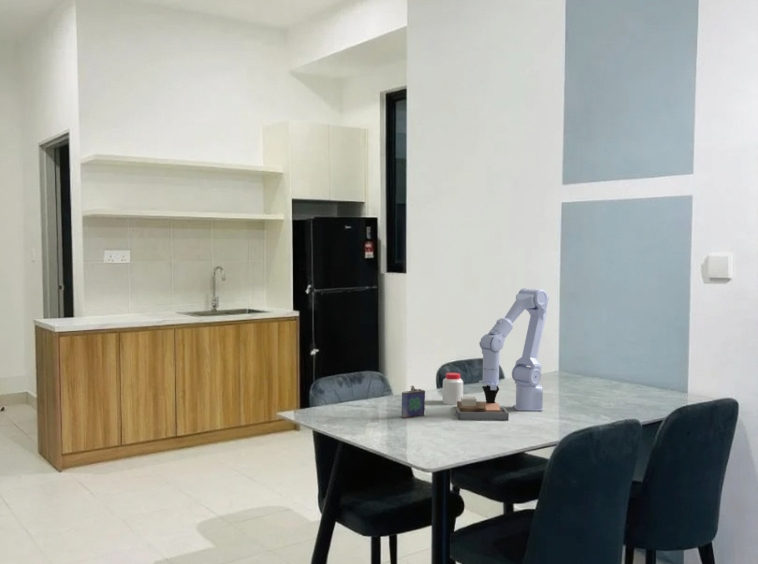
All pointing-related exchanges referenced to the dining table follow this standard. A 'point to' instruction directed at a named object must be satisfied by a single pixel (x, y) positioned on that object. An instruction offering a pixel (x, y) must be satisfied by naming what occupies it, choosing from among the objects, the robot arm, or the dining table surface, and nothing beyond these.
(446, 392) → the pill bottle
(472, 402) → the tile cream
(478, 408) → the board
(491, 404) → the tile terracotta
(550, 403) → the dining table surface
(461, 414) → the tray
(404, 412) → the flask
